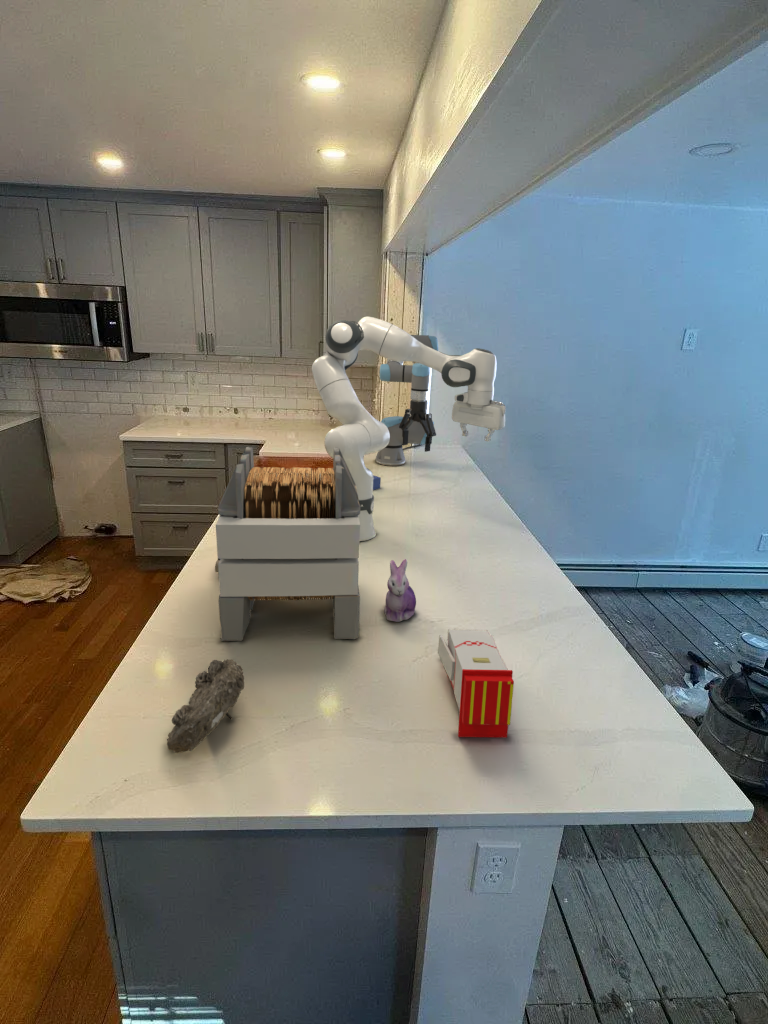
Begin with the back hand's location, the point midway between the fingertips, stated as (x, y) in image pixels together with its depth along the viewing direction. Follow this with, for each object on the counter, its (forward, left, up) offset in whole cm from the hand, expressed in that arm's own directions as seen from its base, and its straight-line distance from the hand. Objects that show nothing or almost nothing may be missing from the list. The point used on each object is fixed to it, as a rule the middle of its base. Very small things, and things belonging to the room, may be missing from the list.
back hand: (416, 448), depth 253 cm
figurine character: (+105, -41, -17) cm, 114 cm away
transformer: (+121, -16, -17) cm, 123 cm away
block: (+13, -17, -17) cm, 27 cm away
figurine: (+118, +11, -17) cm, 120 cm away
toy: (+146, +31, -17) cm, 150 cm away
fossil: (+165, -17, -17) cm, 167 cm away
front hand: (+50, +26, +17) cm, 59 cm away
